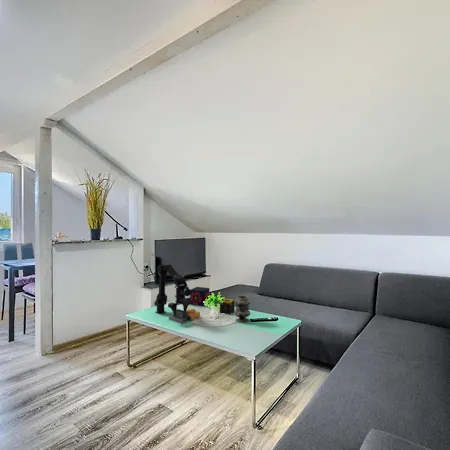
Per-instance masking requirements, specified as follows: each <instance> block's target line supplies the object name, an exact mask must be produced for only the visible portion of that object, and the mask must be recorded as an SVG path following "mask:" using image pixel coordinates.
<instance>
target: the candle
mask: <svg viewBox="0 0 450 450" xmlns="http://www.w3.org/2000/svg"><path fill="white" fill-rule="evenodd" d="M223 299H224V302H223V303H220V302H219V314H221V313H225V314H224V315H232V314H233V313H234V312H235V310H236V307H235V299H232V298H223Z"/></svg>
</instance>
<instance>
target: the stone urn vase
mask: <svg viewBox="0 0 450 450" xmlns="http://www.w3.org/2000/svg"><path fill="white" fill-rule="evenodd" d="M250 304H251V300H250V299H249V296H247V295H237V296H236V299H234V305H235V309H234V310H235V311H234V312H233V313H234V315H235V316H236V317H238V318H236V319H235V321H236V322H237V323H248V322H249V321H250V319H249V318H248V317H249V316H250V315H251V311H250V309H249V307H250V306H249V305H250Z"/></svg>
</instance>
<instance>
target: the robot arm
mask: <svg viewBox="0 0 450 450" xmlns="http://www.w3.org/2000/svg"><path fill="white" fill-rule="evenodd" d="M156 271H157V272H156V273H157V274H158V276H159V277H158V280H159V281H158V294H157V295H156V299H155V300H154V302H153V304H154V306H155V307H156V311H154V312H155V313H156V314H164V313H166V310H165V305H167V304H168V305H167V307H168V308H169V309H170V310H171V311H172V314H173V313H174V315H175V316H176V310H177V309H178V306H179V305H182V307H183V308H182V310H183V311H186V310H187V309H188V307H189V306H191V305H190V304H191V299H190V294H191V289H190V288H189V286H188V284H187V281H186V279H185V277H183V275H181V274H179V273H178V272H177V271H176V269H175V268H174V267H173V265H172V264H169V263H167V264H159V265H158V266H157V267H156ZM167 274H169V275H170V276H171V278H172V279H173V283H174V285H175V286H174V288H175V294H174V297H175V300H174V302H172V301H171V302H169V303H167V301H168V295H167V293H166V276H167Z"/></svg>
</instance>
